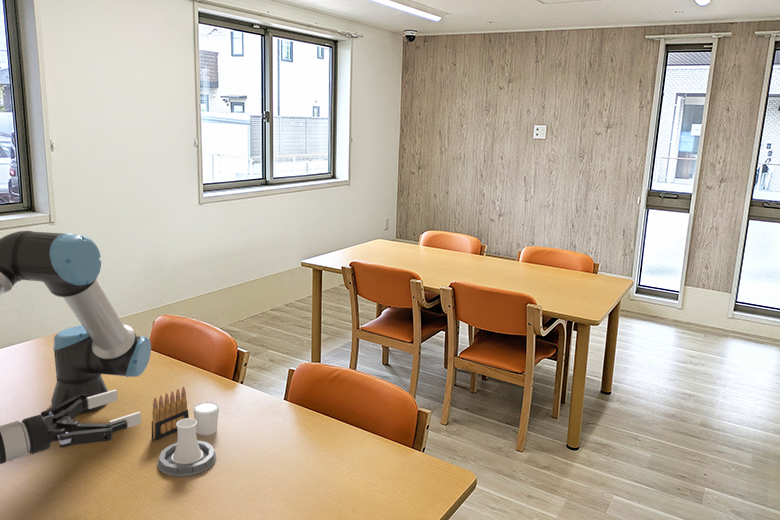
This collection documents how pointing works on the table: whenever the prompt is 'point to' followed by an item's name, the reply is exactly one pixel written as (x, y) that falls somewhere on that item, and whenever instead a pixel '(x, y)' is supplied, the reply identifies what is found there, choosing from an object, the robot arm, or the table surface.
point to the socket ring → (186, 470)
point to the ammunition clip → (168, 414)
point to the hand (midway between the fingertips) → (128, 405)
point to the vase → (187, 443)
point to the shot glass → (206, 417)
